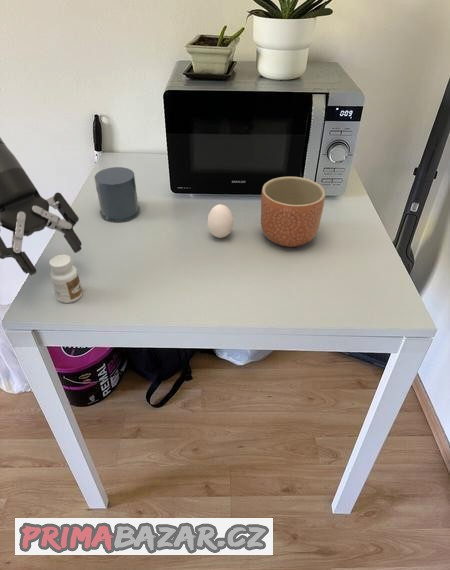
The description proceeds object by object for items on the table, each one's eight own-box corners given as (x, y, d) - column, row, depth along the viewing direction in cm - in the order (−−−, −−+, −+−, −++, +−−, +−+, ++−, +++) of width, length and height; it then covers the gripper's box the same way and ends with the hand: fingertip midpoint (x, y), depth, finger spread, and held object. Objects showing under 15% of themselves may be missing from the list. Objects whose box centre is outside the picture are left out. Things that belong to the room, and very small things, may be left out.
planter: (321, 255, 88) (330, 206, 81) (259, 253, 88) (263, 205, 81) (313, 222, 98) (320, 176, 91) (257, 221, 98) (260, 175, 91)
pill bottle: (79, 304, 77) (69, 268, 72) (53, 303, 77) (42, 268, 72) (85, 287, 80) (77, 252, 75) (61, 287, 80) (51, 252, 75)
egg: (236, 240, 92) (237, 209, 87) (212, 245, 91) (212, 214, 86) (227, 227, 96) (227, 197, 91) (204, 232, 94) (203, 201, 90)
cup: (104, 226, 96) (97, 188, 90) (96, 206, 102) (89, 170, 97) (145, 217, 99) (140, 180, 93) (134, 199, 105) (129, 163, 99)
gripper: (-41, 183, 66) (21, 275, 67) (45, 154, 74) (98, 237, 76) (-43, 203, 72) (14, 287, 74) (36, 174, 80) (86, 250, 82)
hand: (57, 261), depth 75 cm, fingers open, 8 cm apart
